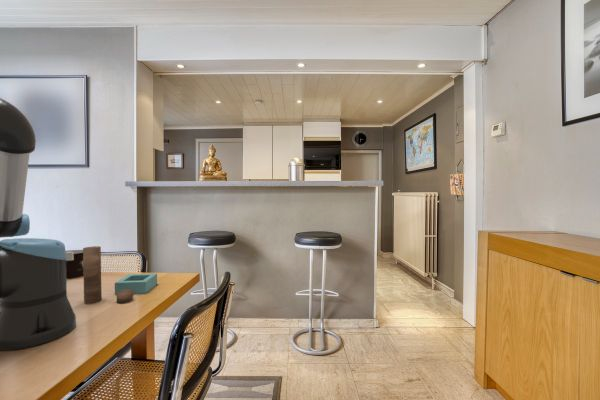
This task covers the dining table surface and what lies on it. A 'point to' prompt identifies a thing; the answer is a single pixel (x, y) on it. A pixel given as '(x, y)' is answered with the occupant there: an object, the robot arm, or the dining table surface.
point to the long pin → (92, 274)
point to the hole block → (136, 283)
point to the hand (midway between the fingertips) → (58, 261)
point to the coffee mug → (75, 265)
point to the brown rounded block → (124, 296)
